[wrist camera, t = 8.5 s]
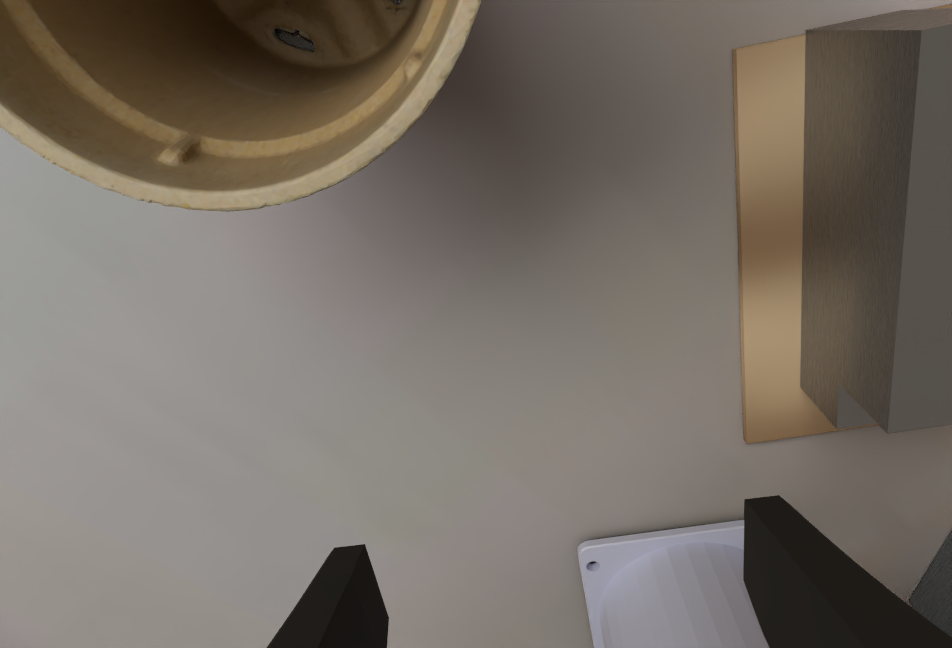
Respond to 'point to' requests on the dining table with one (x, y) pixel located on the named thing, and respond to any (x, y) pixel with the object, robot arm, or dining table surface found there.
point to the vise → (937, 590)
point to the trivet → (772, 238)
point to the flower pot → (221, 90)
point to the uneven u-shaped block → (878, 221)
